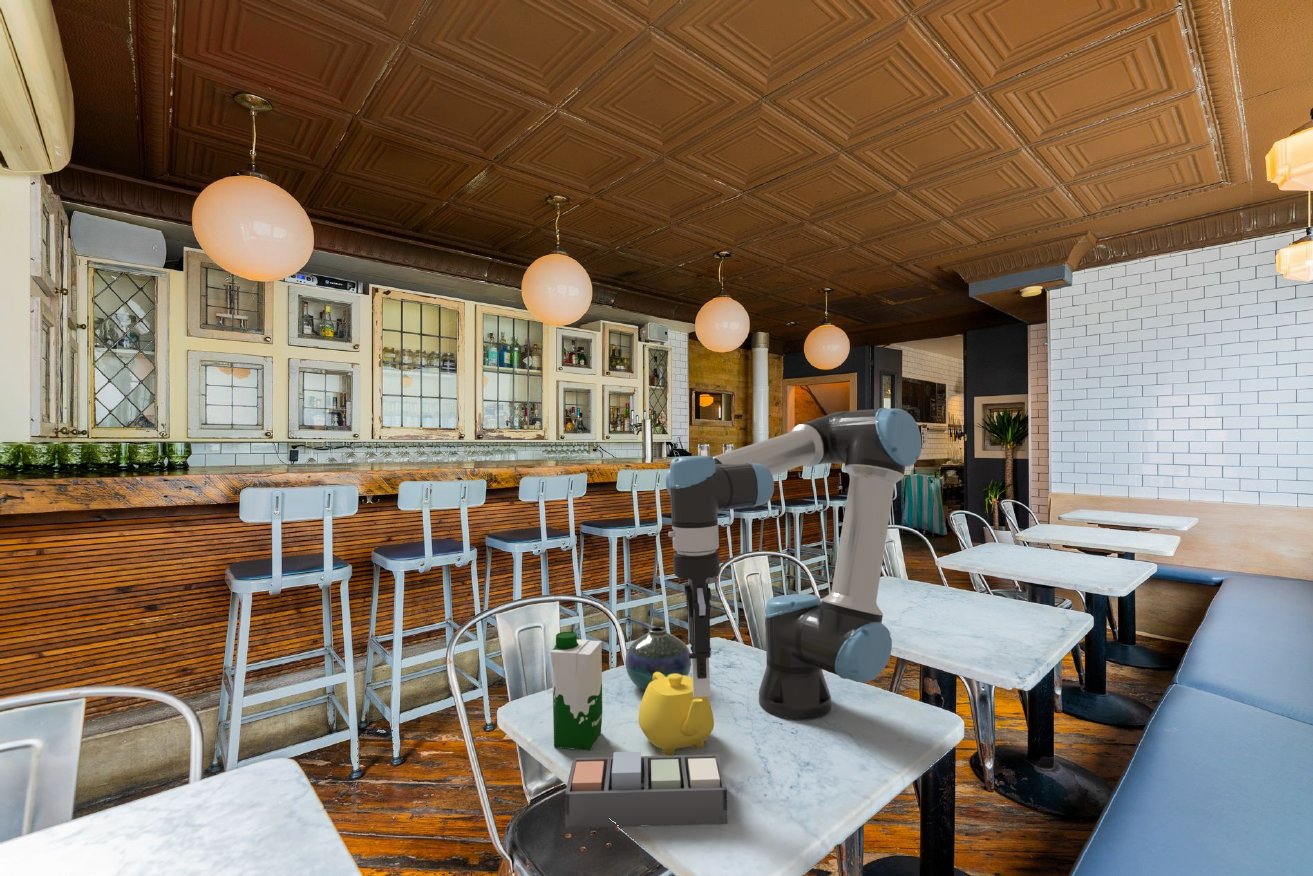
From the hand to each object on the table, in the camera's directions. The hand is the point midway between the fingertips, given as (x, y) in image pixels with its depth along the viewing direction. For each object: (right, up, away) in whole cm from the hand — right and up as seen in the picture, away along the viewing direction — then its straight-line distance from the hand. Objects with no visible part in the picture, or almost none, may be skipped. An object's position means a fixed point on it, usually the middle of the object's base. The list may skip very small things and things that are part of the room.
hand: (701, 694), depth 96 cm
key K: (-12, -12, -4) cm, 17 cm away
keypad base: (-9, -16, -4) cm, 18 cm away
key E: (-18, -13, -4) cm, 23 cm away
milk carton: (-22, -16, +17) cm, 32 cm away
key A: (0, -13, -4) cm, 14 cm away
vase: (-7, -16, +41) cm, 45 cm away
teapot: (-3, -16, +15) cm, 22 cm away
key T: (-6, -13, -4) cm, 15 cm away
